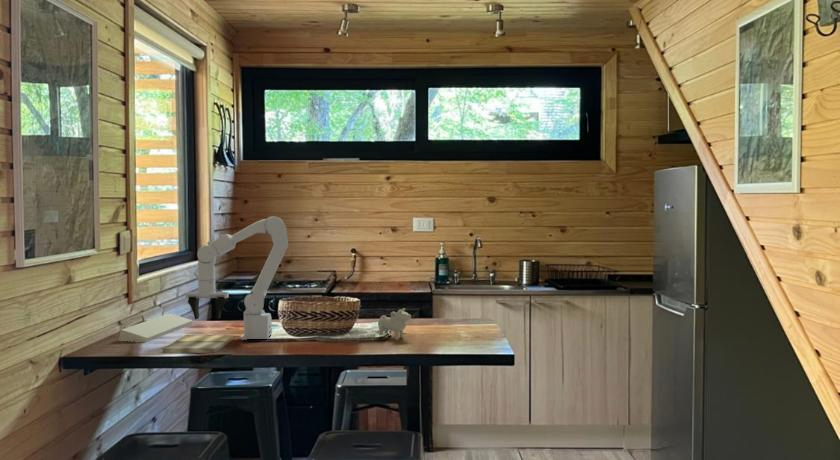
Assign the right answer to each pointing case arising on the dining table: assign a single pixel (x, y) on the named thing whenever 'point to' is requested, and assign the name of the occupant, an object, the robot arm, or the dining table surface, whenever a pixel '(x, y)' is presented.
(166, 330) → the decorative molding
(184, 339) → the oak plank
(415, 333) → the dining table surface
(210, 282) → the robot arm
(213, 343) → the laminate section
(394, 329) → the grey animal figure
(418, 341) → the dining table surface
